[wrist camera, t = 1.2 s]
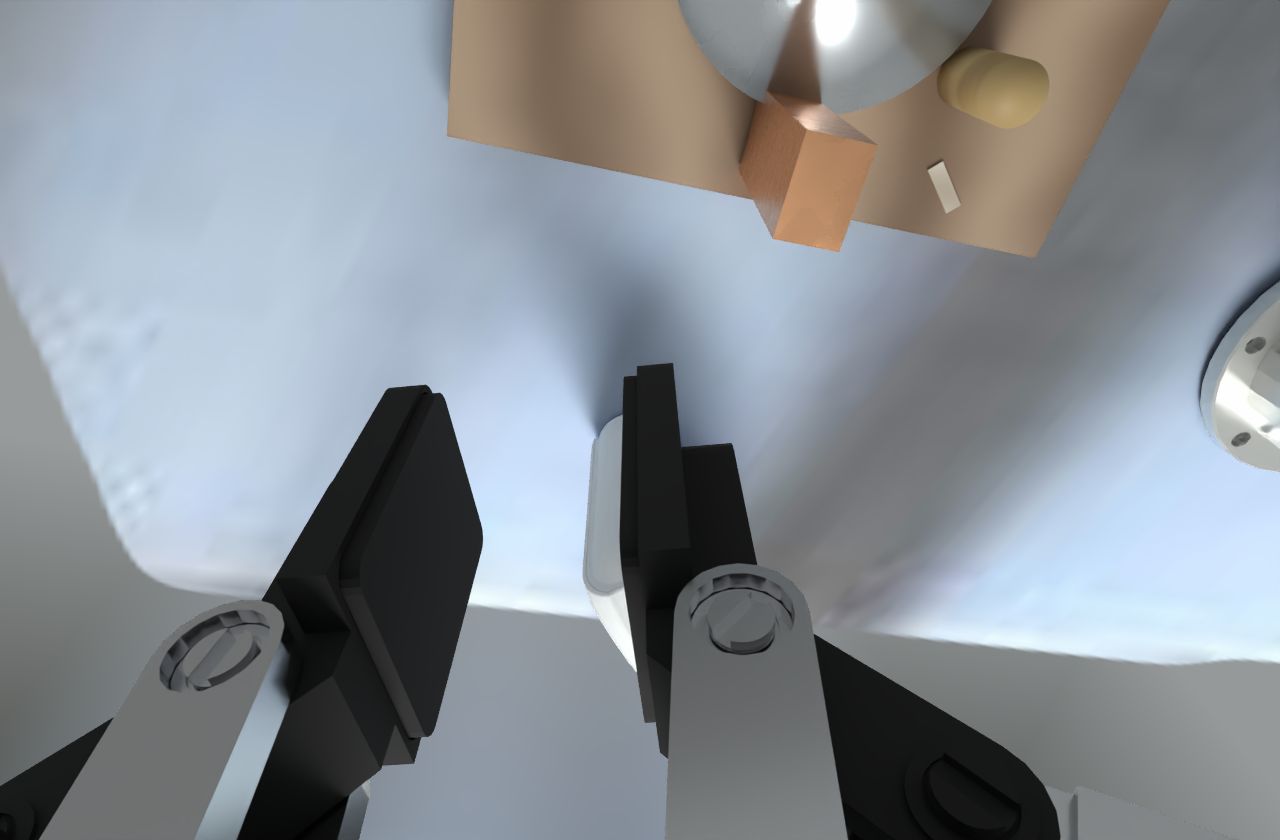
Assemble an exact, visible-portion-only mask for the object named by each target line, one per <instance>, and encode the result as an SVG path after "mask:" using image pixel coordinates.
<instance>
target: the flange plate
mask: <svg viewBox="0 0 1280 840" xmlns="http://www.w3.org/2000/svg"><path fill="white" fill-rule="evenodd" d="M991 2H992V0H677V3H678V6H679V9H680V12H681V14H682V16H683V19H684V21H685V23H686V25H687V27H688V29H689V31H690V33H691V35H692V37H693V38H694V40H695V41H696V43H697V44H698V46H699V48H700V49H701V51H702V52H703V54H704V55H705V56H706V57H707V58H708V60H709V61H710V62H711V63H712V64H713V66H714V67H715V68H716V69H717V70H718V72H719V73H720V74H722V75H723V76H724V77H725V78H726V79H727V80H728V81H729V82H730V83H732V84H733V85H734V86H735V87H736V88H738V89H739V90H741V91H742V92H744V93H745V94H747V95H748V96H750V97H751V98H753V99H755V100H757V103H756V107H755V111H754V115H753V118H752V122H751V126H750V129H749V133H748V137H747V141H746V144H745V148H744V152H743V155H742V159H741V163H740V166H739V170H738V171H739V173H740V175H741V177H742V179H743V181H744V182H745V184H746V186H747V188H748V190H749V192H750V194H751V196H752V198H753V200H754V202H755V204H756V206H757V208H758V210H759V212H760V214H761V216H762V218H763V220H764V222H765V224H766V226H767V228H768V230H769V232H770V234H771V236H772V238H773V239H777V240H782V241H787V242H792V243H797V244H802V245H807V246H812V247H816V248H821V249H826V250H831V251H836V252H839V251H840V248H841V245H842V243H843V240H844V237H845V234H846V232H847V229H848V226H849V223H850V221H851V218H852V215H853V213H854V210H855V207H856V204H857V202H858V199H859V196H860V193H861V191H862V188H863V185H864V183H865V180H866V177H867V174H868V172H869V169H870V166H871V163H872V161H873V158H874V155H875V153H876V150H877V147H878V145H877V144H876V143H874V142H873V141H872V140H870V139H869V138H868V137H866V136H865V135H864V134H862V133H861V132H860V131H858V130H857V129H855V128H854V127H853V126H851V125H850V124H849V123H847V122H846V121H845V120H843V119H842V118H841V117H839V116H838V115H837V114H844V113H851V112H855V111H859V110H862V109H866V108H870V107H873V106H875V105H877V104H880V103H882V102H885V101H887V100H890V99H892V98H894V97H896V96H897V95H899V94H901V93H903V92H904V91H906V90H908V89H910V88H912V87H913V86H914V85H916V84H917V83H919V82H920V81H921V80H923V79H924V78H926V77H927V76H928V75H930V74H931V73H932V72H933V71H935V70H936V69H937V68H938V67H939V66H940V65H941V64H942V63H943V62H945V61H946V60H947V59H948V58H949V57H950V56H951V55H952V54H953V53H954V52H955V50H956V49H957V48H958V47H959V46H960V45H961V44H962V43H963V42H964V41H965V39H966V38H967V37H968V36H969V34H970V33H971V32H972V30H973V29H974V28H975V26H976V25H977V24H978V22H979V21H980V19H981V18H982V17H983V15H984V14H985V12H986V10H987V8H988V7H989V5H990V3H991Z"/></svg>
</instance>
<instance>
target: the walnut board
mask: <svg viewBox="0 0 1280 840" xmlns="http://www.w3.org/2000/svg"><path fill="white" fill-rule="evenodd" d="M1169 2H1170V0H992V2H991V3H990V5H989V7H988V8H987V10H986V12H985V14H984V15H983V17H982V18H981V19H980V21H979V22H978V24H977V25H976V26H975V28H974V29H973V30H972V32H971V33H970V34H969V36H968V37H967V38H966V39H965V41H964V42H963V43H962V44H961V45H960V46H959V47H958V48H957V49H956V50H955V52H954V53H953V54H952V55H951V56H950V57H949V58H948V59H947V60H946V61H945V62H943V63H942V64H941V65H940V66H939V67H938V68H937V69H936V70H935V71H933V72H932V73H931V74H930V75H928V76H927V77H926V78H924V79H923V80H921V81H920V82H919V83H917V84H916V85H914V86H913V87H912V88H910V89H908V90H906V91H904V92H903V93H901V94H899V95H897V96H896V97H894V98H892V99H890V100H887V101H885V102H882V103H880V104H877V105H875V106H873V107H870V108H866V109H862V110H859V111H855V112H851V113H844V114H837V115H838V116H839V117H841V118H842V119H843V120H845V121H846V122H847V123H849V124H850V125H851V126H853V127H854V128H855V129H857V130H858V131H860V132H861V133H862V134H864V135H865V136H866V137H868V138H869V139H870V140H872V141H873V142H874V143H876V144H877V145H878V147H877V150H876V153H875V155H874V158H873V161H872V163H871V166H870V169H869V172H868V174H867V177H866V180H865V183H864V185H863V188H862V191H861V193H860V196H859V199H858V202H857V204H856V207H855V210H854V213H853V215H852V218H851V220H854V221H859V222H863V223H868V224H873V225H878V226H883V227H887V228H892V229H897V230H902V231H907V232H912V233H916V234H921V235H926V236H931V237H936V238H941V239H945V240H950V241H955V242H960V243H965V244H969V245H974V246H979V247H984V248H989V249H994V250H998V251H1003V252H1008V253H1013V254H1018V255H1023V256H1027V257H1032V258H1035V257H1036V255H1037V253H1038V252H1039V250H1040V248H1041V246H1042V244H1043V242H1044V240H1045V238H1046V236H1047V234H1048V232H1049V231H1050V229H1051V227H1052V225H1053V223H1054V221H1055V219H1056V217H1057V215H1058V213H1059V211H1060V210H1061V208H1062V206H1063V204H1064V202H1065V200H1066V198H1067V196H1068V194H1069V192H1070V190H1071V189H1072V187H1073V185H1074V183H1075V181H1076V179H1077V177H1078V175H1079V173H1080V171H1081V170H1082V168H1083V166H1084V164H1085V162H1086V160H1087V158H1088V156H1089V154H1090V152H1091V150H1092V149H1093V147H1094V145H1095V143H1096V141H1097V139H1098V137H1099V135H1100V133H1101V131H1102V129H1103V128H1104V126H1105V124H1106V122H1107V120H1108V118H1109V116H1110V114H1111V112H1112V110H1113V108H1114V107H1115V105H1116V103H1117V101H1118V99H1119V97H1120V95H1121V93H1122V91H1123V89H1124V88H1125V86H1126V84H1127V82H1128V80H1129V78H1130V76H1131V74H1132V72H1133V70H1134V68H1135V67H1136V65H1137V63H1138V61H1139V59H1140V57H1141V55H1142V53H1143V51H1144V49H1145V47H1146V46H1147V44H1148V42H1149V40H1150V38H1151V36H1152V34H1153V32H1154V30H1155V28H1156V27H1157V25H1158V23H1159V21H1160V19H1161V17H1162V15H1163V13H1164V11H1165V9H1166V7H1167V6H1168V4H1169ZM756 103H757V100H755V99H753V98H751V97H750V96H748V95H747V94H745V93H744V92H742V91H741V90H739V89H738V88H736V87H735V86H734V85H733V84H732V83H730V82H729V81H728V80H727V79H726V78H725V77H724V76H723V75H722V74H720V73H719V72H718V70H717V69H716V68H715V67H714V66H713V64H712V63H711V62H710V61H709V60H708V58H707V57H706V56H705V55H704V54H703V52H702V51H701V49H700V48H699V46H698V44H697V43H696V41H695V40H694V38H693V37H692V35H691V33H690V31H689V29H688V27H687V25H686V23H685V21H684V19H683V16H682V14H681V12H680V9H679V6H678V3H677V0H454V12H453V31H452V50H451V69H450V89H449V108H448V127H447V136H448V137H453V138H458V139H463V140H468V141H473V142H477V143H482V144H487V145H492V146H497V147H502V148H506V149H511V150H516V151H521V152H526V153H530V154H535V155H540V156H545V157H550V158H555V159H559V160H564V161H569V162H574V163H579V164H584V165H588V166H593V167H598V168H603V169H608V170H613V171H617V172H622V173H627V174H632V175H637V176H641V177H646V178H651V179H656V180H661V181H666V182H670V183H675V184H680V185H685V186H690V187H695V188H699V189H704V190H709V191H714V192H719V193H723V194H728V195H733V196H738V197H743V198H748V199H752V200H753V198H752V196H751V194H750V192H749V190H748V188H747V186H746V184H745V182H744V181H743V179H742V177H741V175H740V173H739V171H738V170H739V166H740V163H741V159H742V155H743V152H744V148H745V144H746V141H747V137H748V133H749V129H750V126H751V122H752V118H753V115H754V111H755V107H756Z"/></svg>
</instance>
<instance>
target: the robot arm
mask: <svg viewBox="0 0 1280 840" xmlns="http://www.w3.org/2000/svg"><path fill="white" fill-rule="evenodd" d="M1200 406H1201V413H1202V419H1203V422H1204V424H1205V426H1206V429H1207V431H1208V433H1209V435H1210V436H1211V437H1212V438H1213V439H1214V440H1215V441H1216V442H1217V443H1218V444H1219V445H1220V447H1221V448H1223V449H1224V450H1225V451H1227V452H1228V453H1229V454H1231V455H1232V456H1233V457H1235V458H1236V459H1237V460H1239V461H1240V462H1242V463H1245V464H1247V465H1249V466H1252V467H1254V468H1257V469H1261V470H1267V471H1273V472H1280V281H1279V282H1277V283H1276V284H1275V285H1274V286H1272V287H1271V288H1270V289H1269V290H1267V291H1266V292H1265V293H1263V294H1262V295H1261V296H1260V297H1259V298H1258V299H1257V300H1256V301H1255V302H1254V303H1253V304H1252V305H1251V306H1250V307H1249V308H1248V309H1247V310H1246V311H1245V312H1244V313H1243V314H1242V315H1241V316H1240V317H1239V318H1238V320H1237V321H1236V322H1235V324H1234V325H1233V326H1232V327H1231V329H1230V330H1229V331H1228V333H1227V334H1226V335H1225V336H1224V338H1223V339H1222V341H1221V343H1220V344H1219V346H1218V348H1217V350H1216V352H1215V353H1214V355H1213V357H1212V359H1211V360H1210V363H1209V365H1208V368H1207V371H1206V374H1205V377H1204V380H1203V383H1202V390H1201V399H1200ZM619 543H620V560H621V570H622V577H623V584H624V590H625V597H626V604H627V610H628V617H629V623H630V630H631V636H632V643H633V649H634V656H635V662H636V669H637V675H638V682H639V688H640V695H641V702H642V708H643V715H644V720H645V723H650V722H656V727H657V734H658V741H659V748H660V753H662V754H663V755H664V756H665V757H666V758H668V778H667V802H666V828H665V840H1237V839H1235V838H1232V837H1229V836H1226V835H1223V834H1220V833H1217V832H1214V831H1211V830H1208V829H1205V828H1202V827H1199V826H1196V825H1193V824H1190V823H1187V822H1185V821H1182V820H1179V819H1176V818H1173V817H1170V816H1167V815H1164V814H1161V813H1158V812H1155V811H1152V810H1149V809H1146V808H1143V807H1140V806H1137V805H1134V804H1131V803H1128V802H1125V801H1123V800H1119V799H1117V798H1114V797H1111V796H1108V795H1105V794H1102V793H1099V792H1096V791H1093V790H1090V789H1087V788H1084V787H1081V786H1077V788H1076V790H1075V793H1074V795H1072V794H1068V793H1066V792H1063V791H1060V790H1057V789H1054V788H1051V787H1048V786H1045V785H1043V784H1042V783H1041V781H1040V780H1039V779H1038V778H1037V777H1036V776H1035V774H1034V773H1033V772H1032V771H1031V770H1030V769H1029V767H1027V765H1026V764H1025V763H1024V762H1023V761H1021V760H1020V759H1019V758H1017V757H1016V756H1014V755H1013V754H1012V753H1011V752H1009V751H1008V750H1007V749H1005V748H1004V747H1003V746H1001V745H999V744H998V743H996V742H994V741H992V740H991V739H989V738H987V737H986V736H984V735H983V734H981V733H979V732H978V731H976V730H974V729H972V728H971V727H969V726H967V725H966V724H964V723H962V722H961V721H959V720H957V719H956V718H954V717H952V716H951V715H949V714H947V713H946V712H944V711H942V710H941V709H939V708H937V707H936V706H934V705H932V704H931V703H929V702H927V701H926V700H924V699H922V698H920V697H919V696H917V695H915V694H914V693H912V692H910V691H909V690H907V689H905V688H904V687H902V686H900V685H899V684H897V683H895V682H894V681H892V680H890V679H889V678H887V677H885V676H884V675H882V674H880V673H879V672H877V671H875V670H873V669H872V668H870V667H868V666H867V665H865V664H863V663H862V662H860V661H858V660H857V659H855V658H853V657H851V656H850V655H848V654H847V653H845V652H843V651H841V650H840V649H838V648H837V647H835V646H833V645H832V644H830V643H828V642H827V641H825V640H823V639H822V638H820V637H818V636H817V635H815V634H813V628H812V622H811V616H810V610H809V608H808V605H807V602H806V600H805V597H804V595H803V594H802V592H801V591H800V590H799V589H798V588H797V587H796V585H795V584H794V583H793V582H792V581H791V580H789V579H787V578H786V577H784V576H783V575H781V574H780V573H778V572H777V571H774V570H771V569H768V568H765V567H762V566H759V565H757V562H756V557H755V552H754V547H753V542H752V537H751V532H750V527H749V522H748V517H747V512H746V508H745V503H744V498H743V493H742V488H741V483H740V478H739V473H738V468H737V463H736V458H735V453H734V449H733V445H732V444H731V443H727V444H715V445H703V446H691V447H681V443H680V432H679V422H678V411H677V401H676V390H675V380H674V369H673V363H668V364H656V365H645V366H637V376H628V377H624V386H623V422H622V458H621V494H620V530H619ZM482 545H483V533H482V526H481V522H480V519H479V515H478V512H477V508H476V505H475V501H474V498H473V494H472V491H471V487H470V484H469V481H468V477H467V474H466V470H465V467H464V463H463V460H462V456H461V453H460V449H459V446H458V442H457V439H456V435H455V432H454V428H453V425H452V422H451V418H450V415H449V411H448V408H447V404H446V401H445V398H444V397H443V395H442V394H441V393H432V391H431V389H430V388H429V387H428V386H427V385H418V386H406V387H395V388H388V389H387V390H386V391H385V393H384V395H383V396H382V398H381V400H380V402H379V403H378V405H377V407H376V408H375V410H374V412H373V413H372V415H371V417H370V419H369V420H368V422H367V424H366V425H365V427H364V429H363V430H362V432H361V434H360V436H359V437H358V439H357V441H356V442H355V444H354V446H353V448H352V449H351V451H350V453H349V454H348V456H347V458H346V459H345V461H344V463H343V465H342V466H341V468H340V470H339V471H338V473H337V475H336V477H335V478H334V480H333V481H332V482H331V484H330V485H329V487H328V488H327V490H326V492H325V493H324V495H323V497H322V499H321V500H320V502H319V504H318V505H317V507H316V509H315V510H314V512H313V514H312V516H311V517H310V519H309V521H308V522H307V524H306V526H305V527H304V529H303V531H302V533H301V534H300V536H299V538H298V539H297V541H296V543H295V544H294V546H293V548H292V550H291V551H290V553H289V555H288V556H287V558H286V560H285V561H284V563H283V565H282V567H281V568H280V570H279V572H278V573H277V575H276V577H275V578H274V580H273V582H272V584H271V585H270V587H269V589H268V590H267V592H266V594H265V595H264V597H263V599H262V601H261V600H240V601H236V602H231V603H228V604H223V605H220V606H218V607H215V608H213V609H210V610H208V611H206V612H203V613H201V614H199V615H198V616H196V617H194V618H193V619H192V620H190V621H188V622H186V623H185V624H183V625H182V626H180V627H179V628H178V629H177V630H176V631H175V632H173V633H172V634H171V635H170V636H169V637H168V638H166V640H164V641H163V642H162V644H161V645H160V646H159V647H158V649H157V650H156V651H155V653H154V654H153V655H152V656H151V658H150V659H149V661H148V663H147V664H146V666H145V668H144V669H143V671H142V673H141V674H140V676H139V677H138V679H137V681H136V683H135V684H134V686H133V687H132V689H131V690H130V692H129V694H128V695H127V697H126V699H125V700H124V702H123V703H122V705H121V707H120V709H119V710H118V712H117V713H116V715H115V717H113V718H112V719H110V720H108V721H107V722H105V723H103V724H102V725H100V726H99V727H97V728H95V729H94V730H92V731H90V732H89V733H87V734H85V735H84V736H82V737H80V738H79V739H77V740H76V741H74V742H72V743H71V744H69V745H67V746H66V747H64V748H62V749H61V750H59V751H57V752H56V753H54V754H53V755H51V756H49V757H47V758H46V759H44V760H43V761H41V762H39V763H38V764H36V765H34V766H33V767H31V768H30V769H28V770H26V771H24V772H23V773H21V774H19V775H18V776H16V777H15V778H13V779H11V780H10V781H8V782H6V783H5V784H3V785H1V786H0V840H359V838H360V834H361V830H362V826H363V822H364V818H365V814H366V809H367V805H368V801H369V793H370V781H369V779H370V778H371V777H372V776H373V775H375V774H376V773H377V772H378V771H380V770H381V768H382V766H383V765H399V764H413V763H414V761H415V758H416V754H417V751H418V747H419V743H420V740H421V737H429V736H430V735H431V734H432V733H433V731H434V728H435V726H436V722H437V718H438V714H439V711H440V707H441V703H442V699H443V695H444V691H445V687H446V684H447V680H448V676H449V673H450V669H451V665H452V661H453V657H454V653H455V650H456V646H457V642H458V638H459V634H460V631H461V627H462V623H463V619H464V615H465V612H466V608H467V604H468V600H469V596H470V593H471V589H472V585H473V581H474V577H475V574H476V570H477V566H478V562H479V558H480V555H481V551H482Z"/></svg>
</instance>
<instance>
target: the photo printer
mask: <svg viewBox="0 0 1280 840" xmlns="http://www.w3.org/2000/svg"><path fill="white" fill-rule="evenodd" d="M622 422H623V415H620V416H618V417H616V418H614V419H612V420H611V421H609V422H608V423H607V424H606V425H605V427H604V428H603V429H602V431H601V433H600V436H599V438H597V439H594V441H593V444H592V451H591V464H590V480H589V493H588V508H587V521H586V534H585V546H584V559H583V581H584V584H585V587H586V590H587V593H588V595H589V598H590V601H591V604H592V606H593V608H594V610H595V612H596V614H597V615H598V617H599V619H600V620H601V622H602V624H603V625H604V627H605V629H606V630H607V632H608V633H609V635H610V636H611V638H612V639H613V641H614V642H615V644H616V645H617V647H618V648H619V649H620V651H621V652H622V653H623V655H624V657H625V658H626V660H627V661H628V662H629V664H630V665H632V666H633V668H634V670H635V671H636V672H637V669H636V662H635V656H634V649H633V643H632V636H631V630H630V623H629V617H628V610H627V604H626V597H625V590H624V584H623V577H622V570H621V560H620V543H619V530H620V494H621V458H622Z"/></svg>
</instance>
